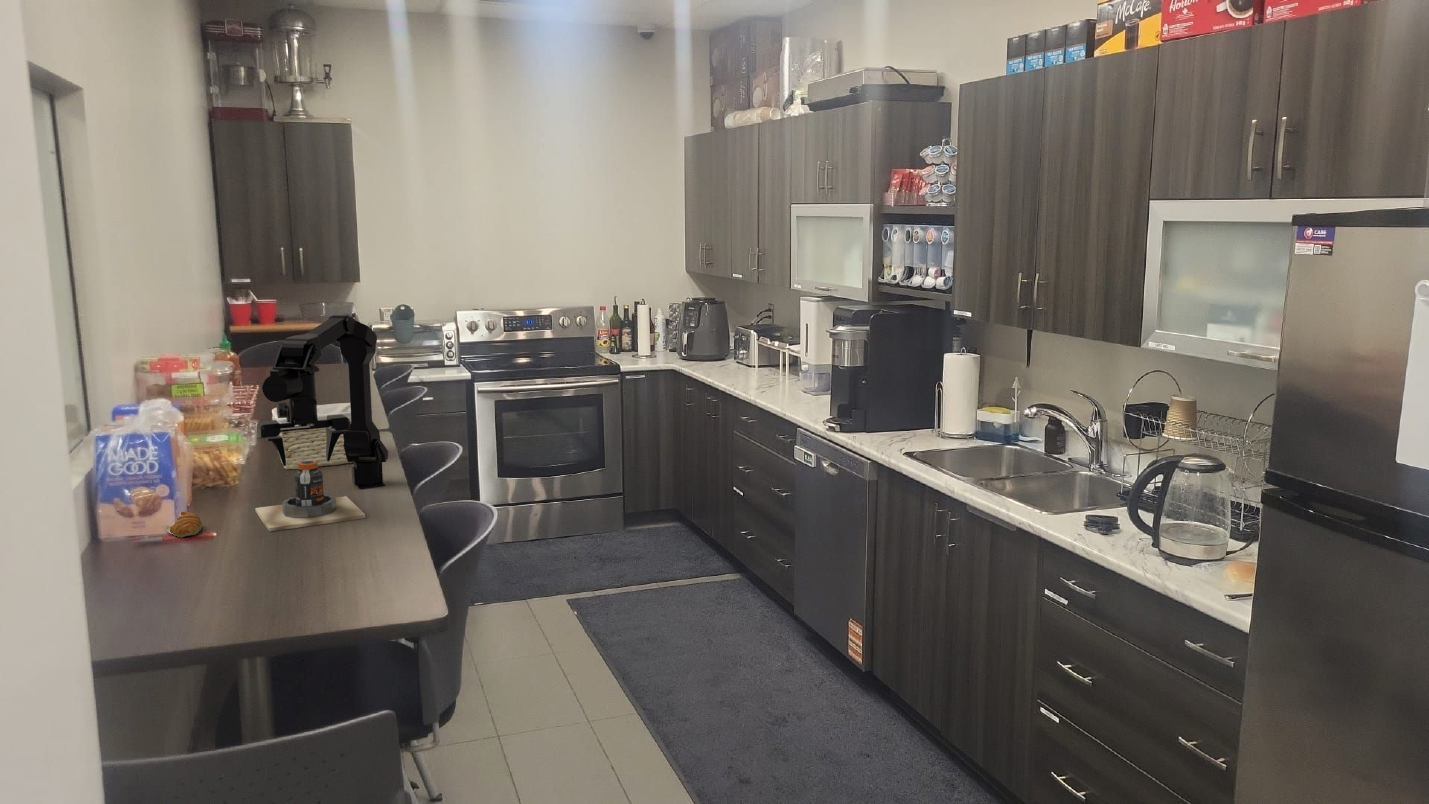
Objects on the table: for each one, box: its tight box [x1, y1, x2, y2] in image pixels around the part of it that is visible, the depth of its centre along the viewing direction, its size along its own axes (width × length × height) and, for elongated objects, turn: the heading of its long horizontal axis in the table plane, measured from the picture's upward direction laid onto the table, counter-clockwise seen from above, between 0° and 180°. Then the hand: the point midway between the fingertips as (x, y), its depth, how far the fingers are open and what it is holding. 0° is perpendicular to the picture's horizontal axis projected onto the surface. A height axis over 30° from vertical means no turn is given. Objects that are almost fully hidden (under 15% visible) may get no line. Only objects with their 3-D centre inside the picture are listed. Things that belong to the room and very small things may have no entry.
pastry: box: [170, 511, 203, 538], centre depth 220 cm, size 9×7×4 cm
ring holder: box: [255, 493, 366, 533], centre depth 234 cm, size 20×18×3 cm
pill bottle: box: [293, 461, 325, 506], centre depth 233 cm, size 6×6×11 cm
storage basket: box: [271, 402, 352, 470], centre depth 284 cm, size 24×16×15 cm
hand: (306, 463), depth 232 cm, fingers open, 9 cm apart
